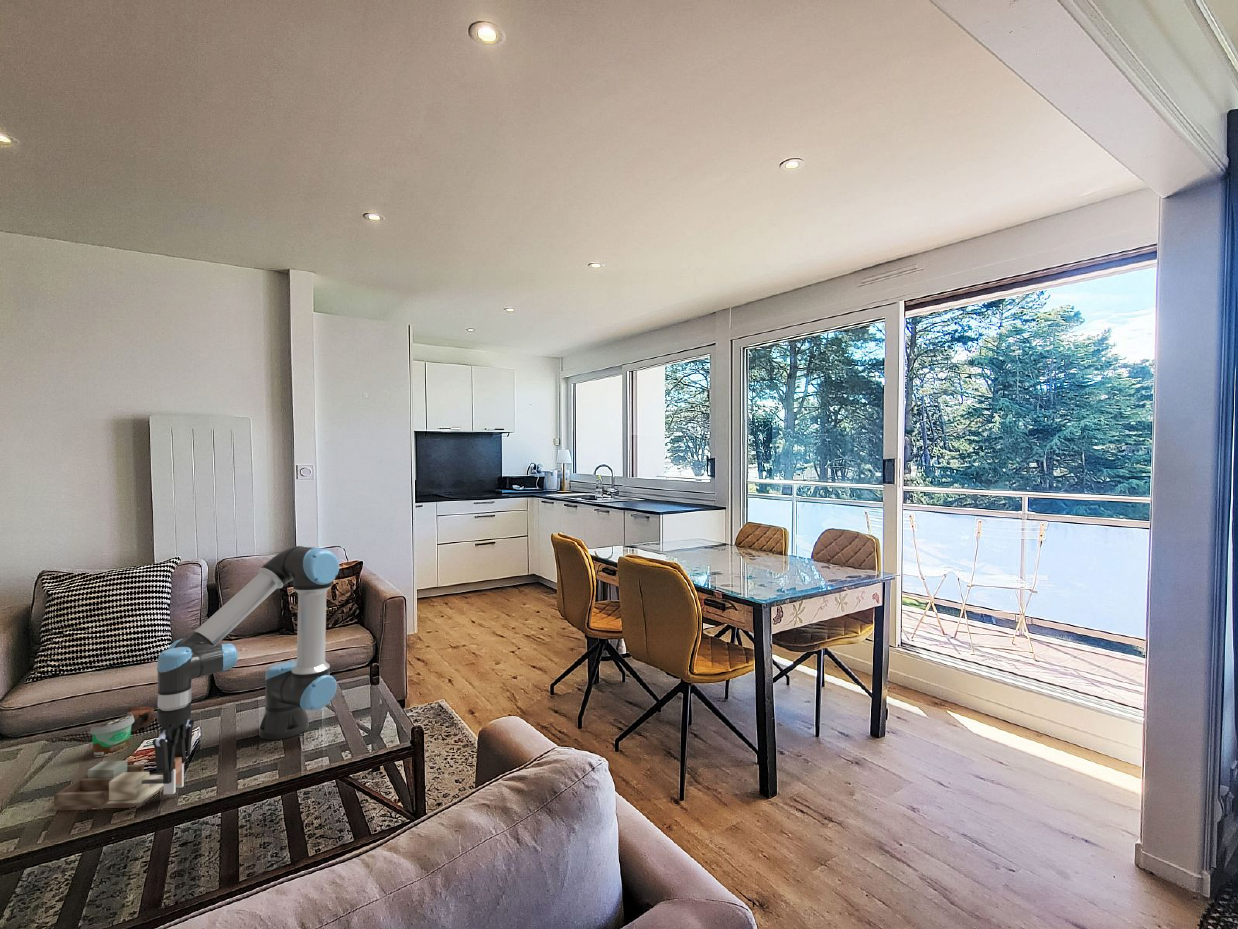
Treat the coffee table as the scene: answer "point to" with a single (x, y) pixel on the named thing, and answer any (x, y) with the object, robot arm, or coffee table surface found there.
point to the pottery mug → (141, 717)
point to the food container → (112, 735)
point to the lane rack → (101, 788)
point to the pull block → (137, 783)
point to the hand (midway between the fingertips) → (173, 790)
